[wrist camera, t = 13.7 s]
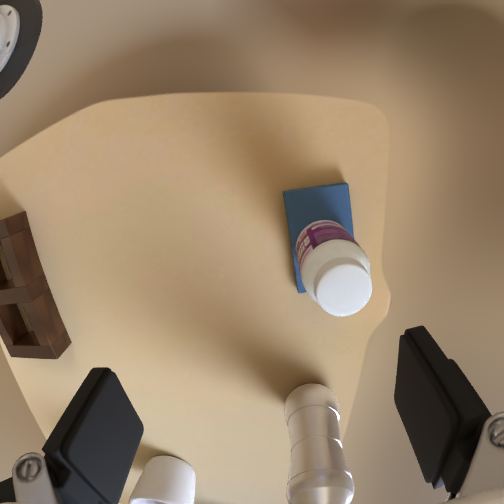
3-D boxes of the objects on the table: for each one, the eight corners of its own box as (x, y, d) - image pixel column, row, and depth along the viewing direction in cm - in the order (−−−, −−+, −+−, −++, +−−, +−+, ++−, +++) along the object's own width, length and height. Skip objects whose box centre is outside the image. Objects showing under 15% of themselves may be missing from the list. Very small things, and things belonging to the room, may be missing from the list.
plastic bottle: (313, 418, 39) (326, 551, 20) (272, 399, 38) (270, 543, 19) (346, 390, 37) (379, 529, 18) (306, 368, 36) (324, 522, 17)
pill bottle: (290, 224, 30) (299, 261, 21) (346, 214, 29) (379, 245, 20) (299, 278, 31) (311, 331, 22) (353, 267, 31) (383, 316, 22)
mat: (282, 191, 30) (283, 192, 29) (345, 182, 29) (348, 183, 28) (297, 289, 33) (298, 293, 32) (354, 280, 32) (357, 284, 31)
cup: (162, 486, 47) (151, 527, 38) (122, 459, 45) (105, 501, 36) (214, 472, 44) (206, 521, 35) (170, 442, 42) (154, 493, 33)
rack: (-18, 227, 33) (-37, 235, 29) (25, 210, 32) (4, 218, 28) (25, 342, 38) (11, 357, 34) (72, 342, 37) (57, 359, 33)
